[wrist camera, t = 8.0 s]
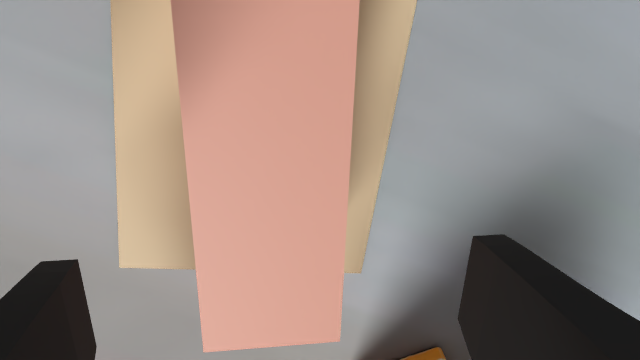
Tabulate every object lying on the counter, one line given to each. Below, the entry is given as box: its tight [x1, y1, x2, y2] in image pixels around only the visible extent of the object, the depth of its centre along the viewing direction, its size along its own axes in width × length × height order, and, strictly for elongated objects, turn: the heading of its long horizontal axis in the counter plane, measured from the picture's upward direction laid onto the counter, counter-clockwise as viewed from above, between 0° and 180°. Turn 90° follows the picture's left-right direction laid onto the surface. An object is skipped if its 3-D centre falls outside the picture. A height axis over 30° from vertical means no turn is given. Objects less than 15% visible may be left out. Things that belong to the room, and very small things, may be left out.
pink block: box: [170, 0, 360, 352], centre depth 17 cm, size 4×11×5 cm, turn 178°
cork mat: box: [111, 0, 417, 273], centre depth 19 cm, size 9×13×1 cm
